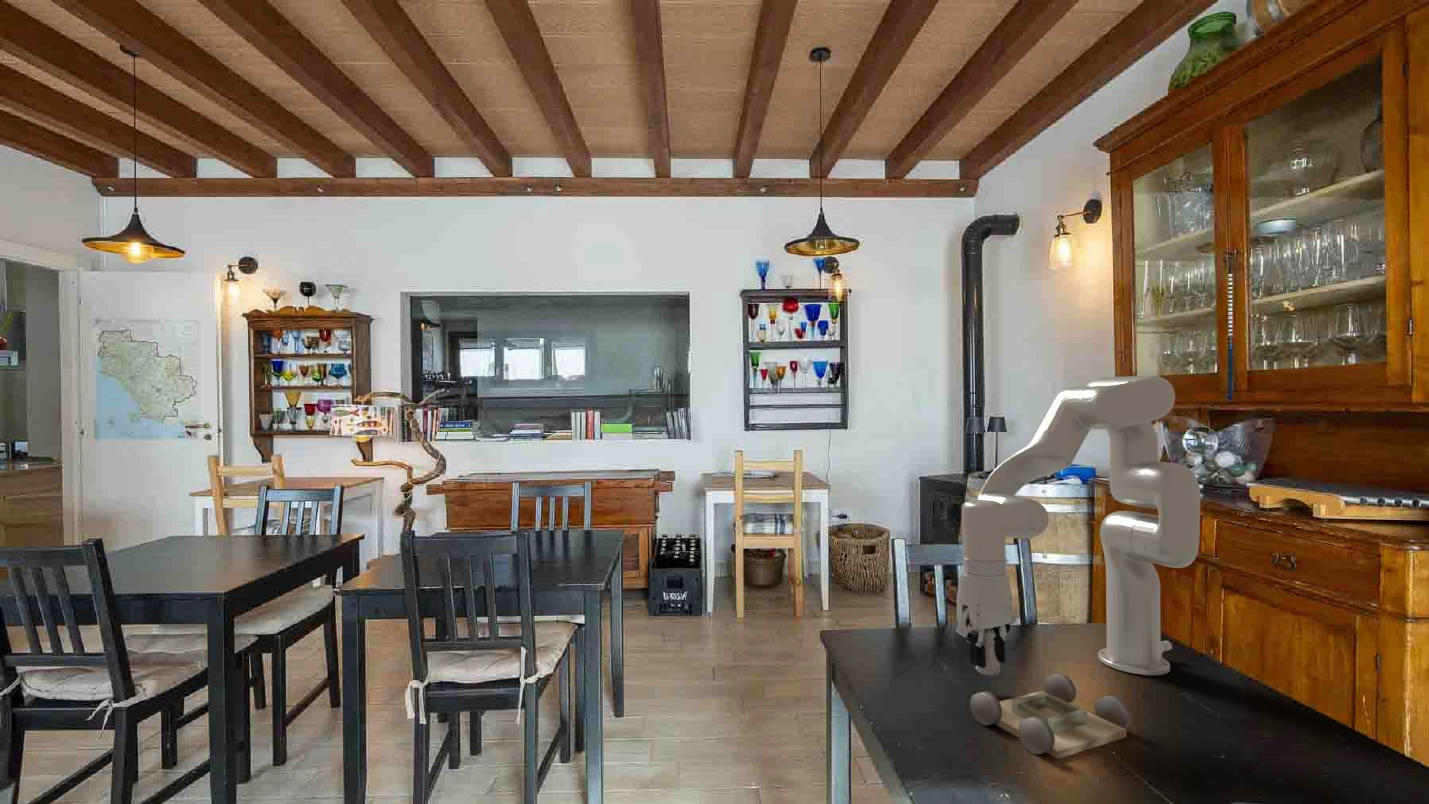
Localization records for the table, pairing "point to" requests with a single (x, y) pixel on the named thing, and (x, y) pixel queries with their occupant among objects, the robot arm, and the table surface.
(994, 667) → the rook chess piece
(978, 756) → the table surface
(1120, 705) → the car chassis
